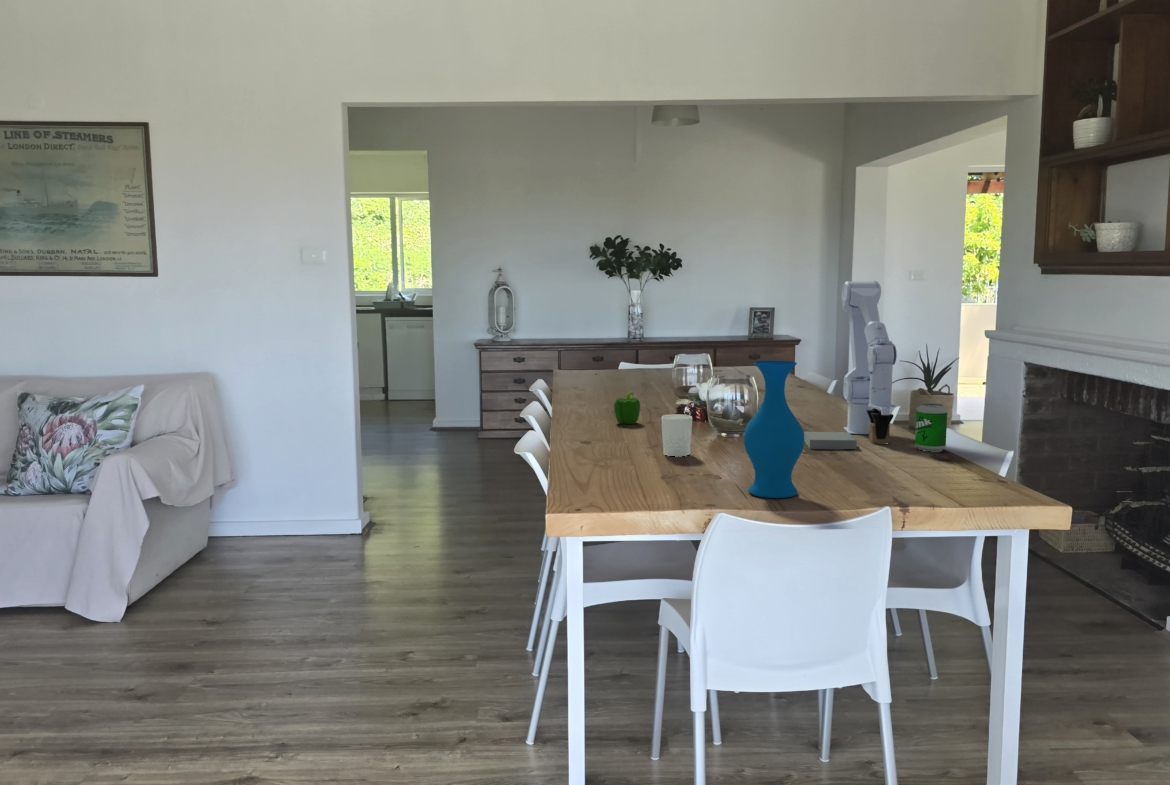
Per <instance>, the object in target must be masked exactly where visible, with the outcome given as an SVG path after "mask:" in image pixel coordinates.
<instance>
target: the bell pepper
mask: <svg viewBox="0 0 1170 785" xmlns="http://www.w3.org/2000/svg"><path fill="white" fill-rule="evenodd" d="M634 394H635V392H634V391H629V392H627V393H626V397H625V398H623V397H618V398H616V400H615V402H614V404H613V410H614V415H615V419H616V421H617V423H618V424H620V423H621V425H634V424H636V423H637V422H638V420H639V416H640V411H641V402H640V401H639V398H638V397H631V395H634Z"/></svg>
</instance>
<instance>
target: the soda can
mask: <svg viewBox="0 0 1170 785" xmlns="http://www.w3.org/2000/svg"><path fill="white" fill-rule="evenodd" d="M915 409H916V411H915V413H916V414H915V431H914V432H915V436H914V438H915V439H914V440H915V441H914V446H915V447H916V448H917V449H921V450H925V451H931V452H930V453H941V452H943V450H944V449H945V448H947V424H948V409H947V408H946V407H945V405H944V404H943V403H941V404H940V403H933V402H932V403H931V402H930V403H929V402H927V403H926V402H925V403H923V402H922V403H920V404H919V405H918V406H917V407H916V408H915Z"/></svg>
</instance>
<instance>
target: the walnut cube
mask: <svg viewBox="0 0 1170 785" xmlns="http://www.w3.org/2000/svg"><path fill="white" fill-rule="evenodd" d="M890 427H891V426H890V425H889V427H888V430H887V434H886V438H885V439H877V437H876V431H875V424H874V423H869V434H868V442H870V443H871V444H872V443H889V444H890Z"/></svg>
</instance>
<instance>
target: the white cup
mask: <svg viewBox="0 0 1170 785" xmlns="http://www.w3.org/2000/svg"><path fill="white" fill-rule="evenodd" d="M660 420H661V434H662V435H661V436H662V446H663V447H662V448H663V449H662V450H663V455H664V456H665V455H667V456H666V457H669V456H675V457H674V458H679V457H678V456H685V457H687V456H686V455H689V454H690V455H691V443H692V441H691V440H692V429H693V416H692V415H688V414H682V413H681V414H677V413H674V414H664V415H662V416H661V418H660ZM690 455H689V456H690Z"/></svg>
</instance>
